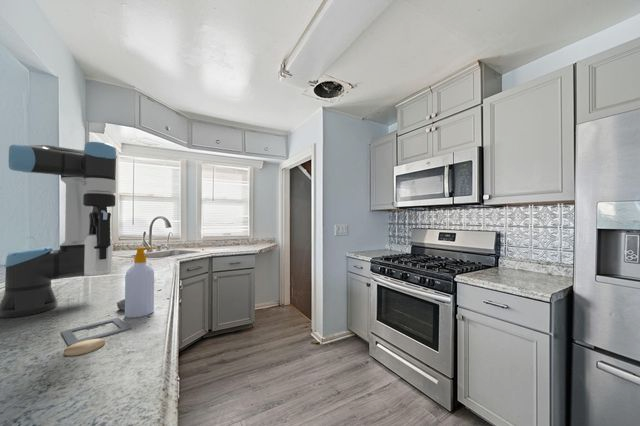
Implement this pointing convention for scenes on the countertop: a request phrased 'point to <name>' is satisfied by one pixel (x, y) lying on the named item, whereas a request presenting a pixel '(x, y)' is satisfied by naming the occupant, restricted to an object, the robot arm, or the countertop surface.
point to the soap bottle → (139, 287)
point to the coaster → (84, 347)
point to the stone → (121, 305)
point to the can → (91, 256)
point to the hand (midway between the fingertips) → (98, 268)
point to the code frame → (72, 339)
